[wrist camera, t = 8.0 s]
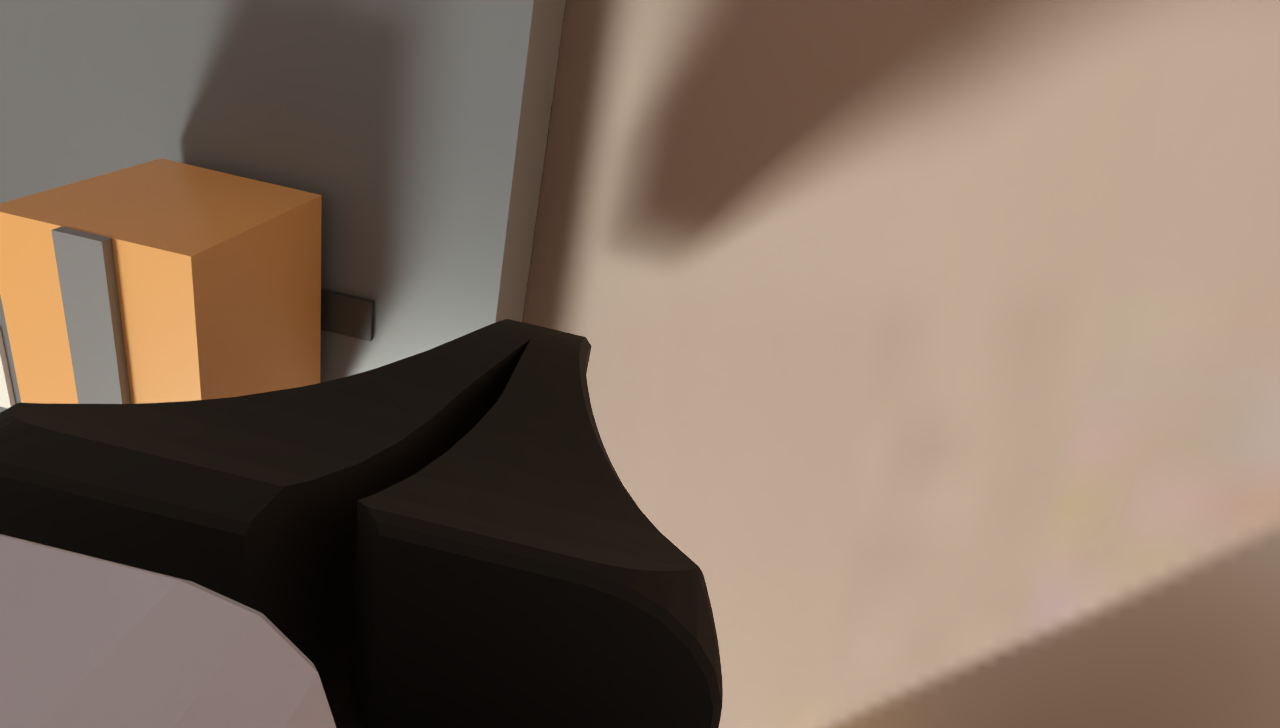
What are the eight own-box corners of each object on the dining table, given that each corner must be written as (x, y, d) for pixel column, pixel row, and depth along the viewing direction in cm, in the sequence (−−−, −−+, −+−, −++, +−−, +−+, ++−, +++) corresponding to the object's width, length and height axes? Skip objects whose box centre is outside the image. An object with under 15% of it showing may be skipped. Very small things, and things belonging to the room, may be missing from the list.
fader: (181, 387, 13) (28, 493, 11) (161, 158, 12) (-29, 211, 9) (320, 421, 13) (204, 536, 11) (321, 195, 12) (182, 260, 9)
